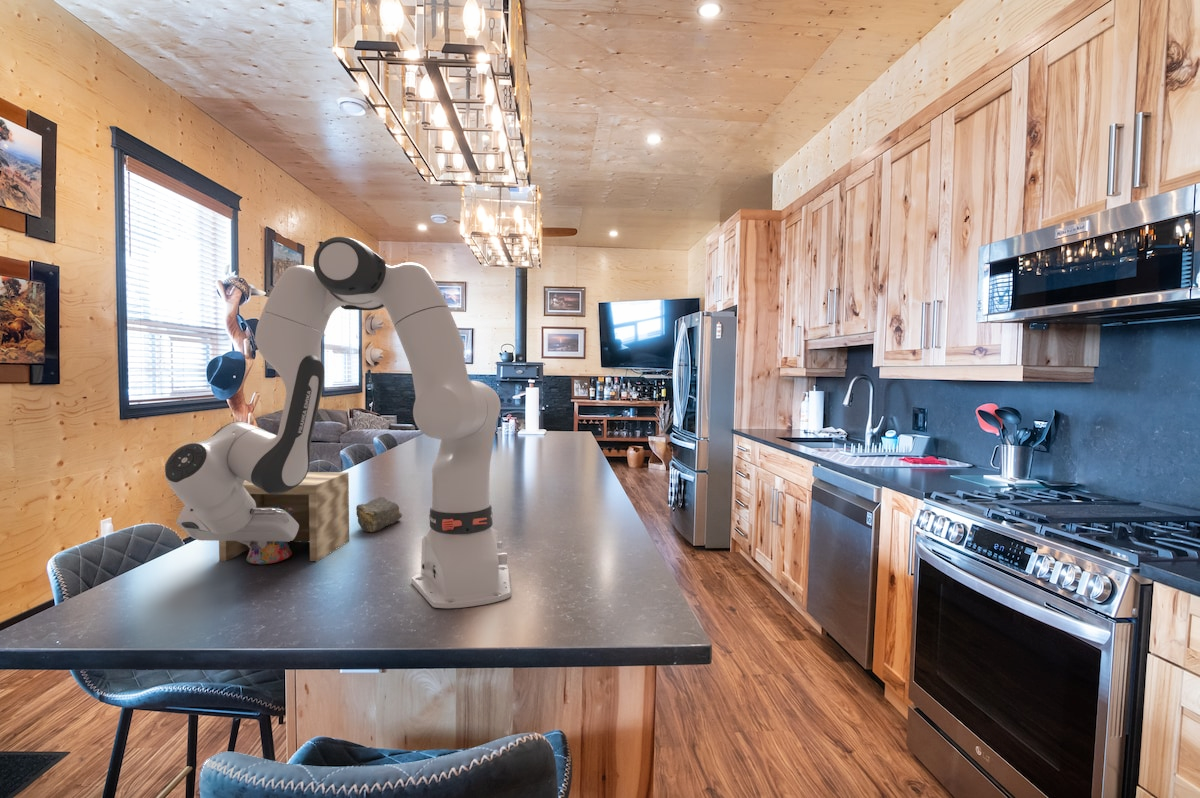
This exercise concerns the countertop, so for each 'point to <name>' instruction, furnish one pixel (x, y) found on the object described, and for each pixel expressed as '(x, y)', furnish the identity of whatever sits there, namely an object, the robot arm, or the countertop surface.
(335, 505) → the shelf unit
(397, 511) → the rock
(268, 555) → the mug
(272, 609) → the countertop surface
